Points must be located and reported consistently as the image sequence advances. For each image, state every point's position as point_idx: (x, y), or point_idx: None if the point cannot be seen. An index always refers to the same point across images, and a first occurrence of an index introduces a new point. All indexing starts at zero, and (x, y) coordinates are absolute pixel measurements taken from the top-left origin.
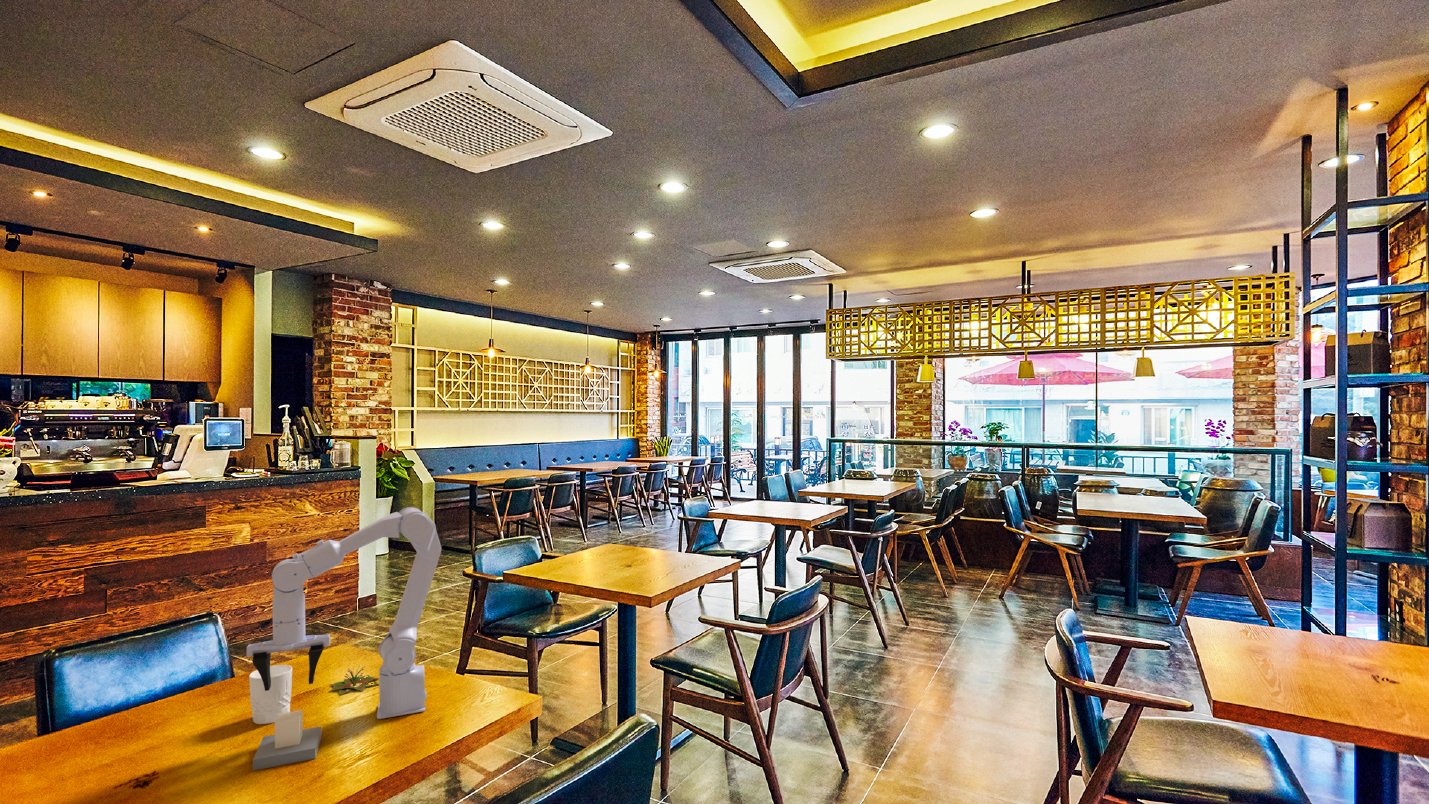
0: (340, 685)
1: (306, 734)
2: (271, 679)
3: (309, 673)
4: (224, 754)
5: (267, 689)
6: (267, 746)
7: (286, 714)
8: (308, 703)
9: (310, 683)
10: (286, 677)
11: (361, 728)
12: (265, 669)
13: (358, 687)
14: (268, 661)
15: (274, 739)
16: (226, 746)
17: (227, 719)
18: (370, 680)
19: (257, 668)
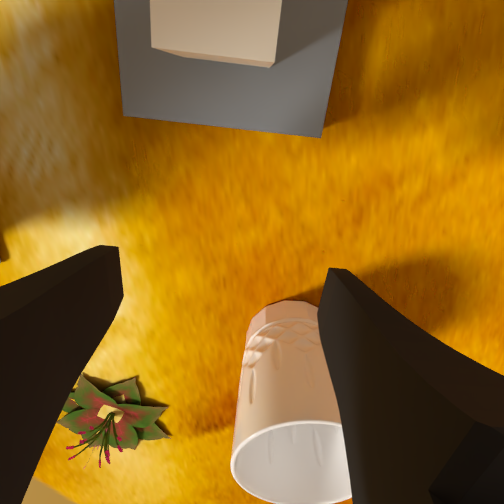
0: (141, 421)
1: (168, 57)
2: (306, 411)
3: (74, 272)
4: (425, 142)
5: (337, 270)
6: (311, 9)
7: (231, 19)
8: (207, 370)
9: (107, 247)
10: (250, 416)
11: (6, 105)
12: (405, 350)
13: (95, 396)
14: (381, 456)
15: (284, 79)
16: (410, 205)
17: None
18: (72, 417)
19: (488, 372)
